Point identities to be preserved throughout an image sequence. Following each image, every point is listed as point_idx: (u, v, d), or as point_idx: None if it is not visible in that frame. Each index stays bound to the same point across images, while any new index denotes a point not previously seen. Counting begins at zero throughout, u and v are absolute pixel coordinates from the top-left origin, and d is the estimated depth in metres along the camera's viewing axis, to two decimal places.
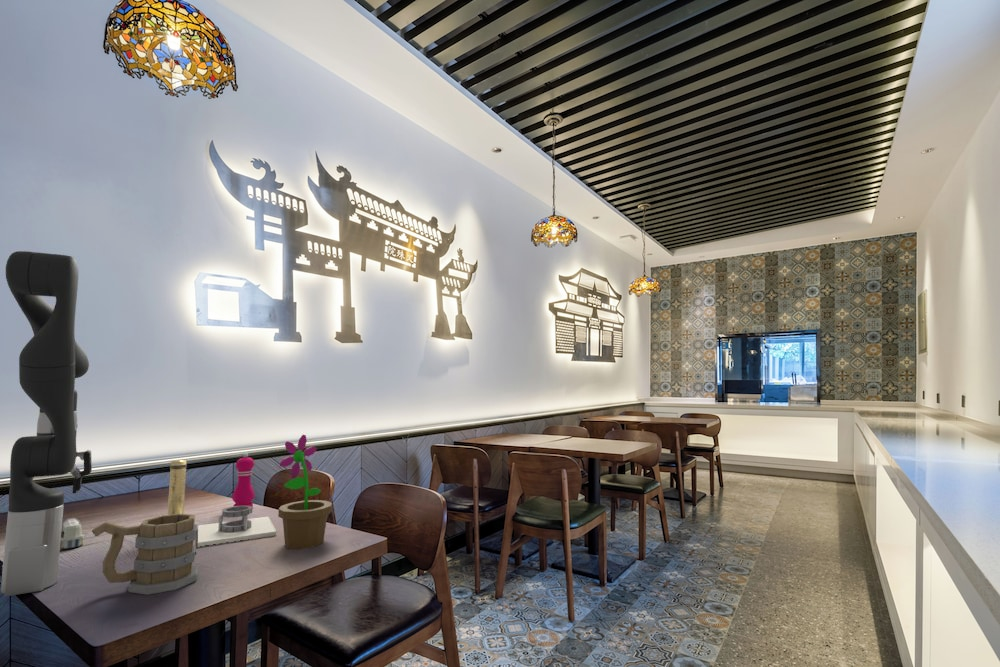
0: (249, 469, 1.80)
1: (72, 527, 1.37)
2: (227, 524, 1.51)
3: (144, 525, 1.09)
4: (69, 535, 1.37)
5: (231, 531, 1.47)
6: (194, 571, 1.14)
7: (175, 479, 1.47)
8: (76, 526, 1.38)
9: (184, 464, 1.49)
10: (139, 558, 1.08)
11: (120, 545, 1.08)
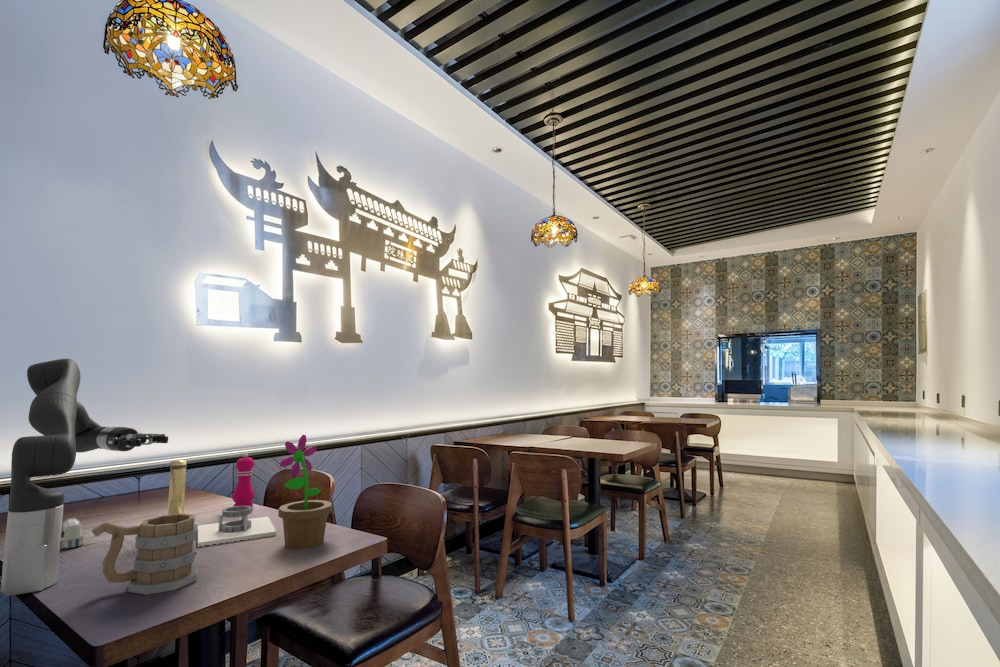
0: (249, 469, 1.80)
1: (72, 527, 1.38)
2: (227, 524, 1.51)
3: (144, 525, 1.09)
4: (69, 535, 1.37)
5: (231, 531, 1.47)
6: (194, 571, 1.14)
7: (175, 479, 1.47)
8: (76, 526, 1.38)
9: (184, 464, 1.49)
10: (139, 558, 1.08)
11: (120, 545, 1.08)
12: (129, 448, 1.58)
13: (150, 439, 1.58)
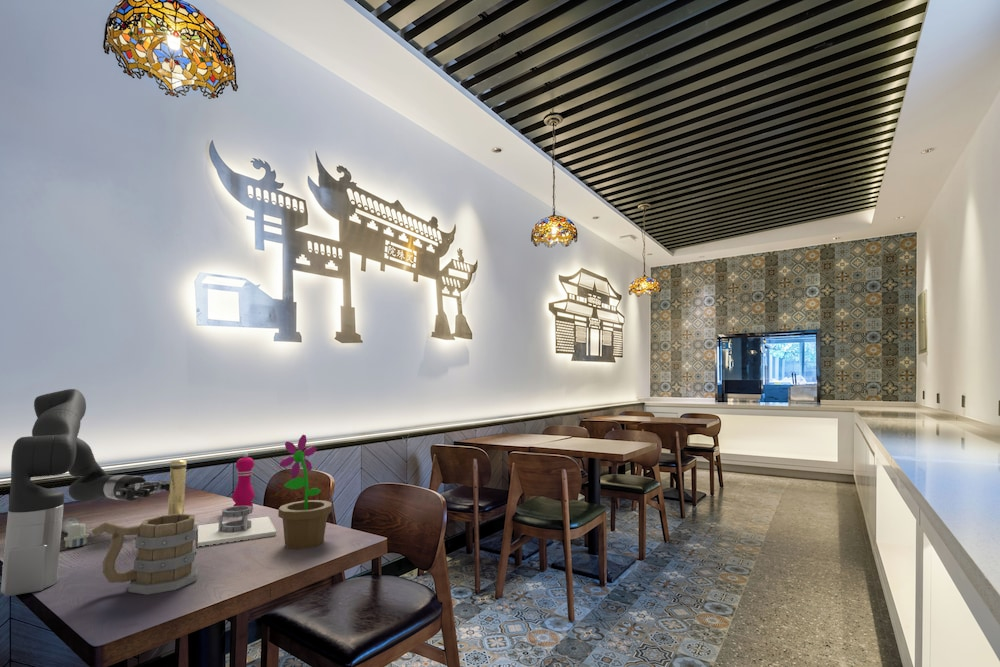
0: (249, 469, 1.80)
1: (76, 526, 1.38)
2: (227, 524, 1.51)
3: (144, 525, 1.09)
4: (74, 534, 1.37)
5: (231, 531, 1.47)
6: (194, 571, 1.14)
7: (175, 479, 1.47)
8: (80, 525, 1.39)
9: (184, 464, 1.49)
10: (139, 558, 1.08)
11: (120, 545, 1.08)
12: (137, 497, 1.54)
13: (158, 487, 1.55)
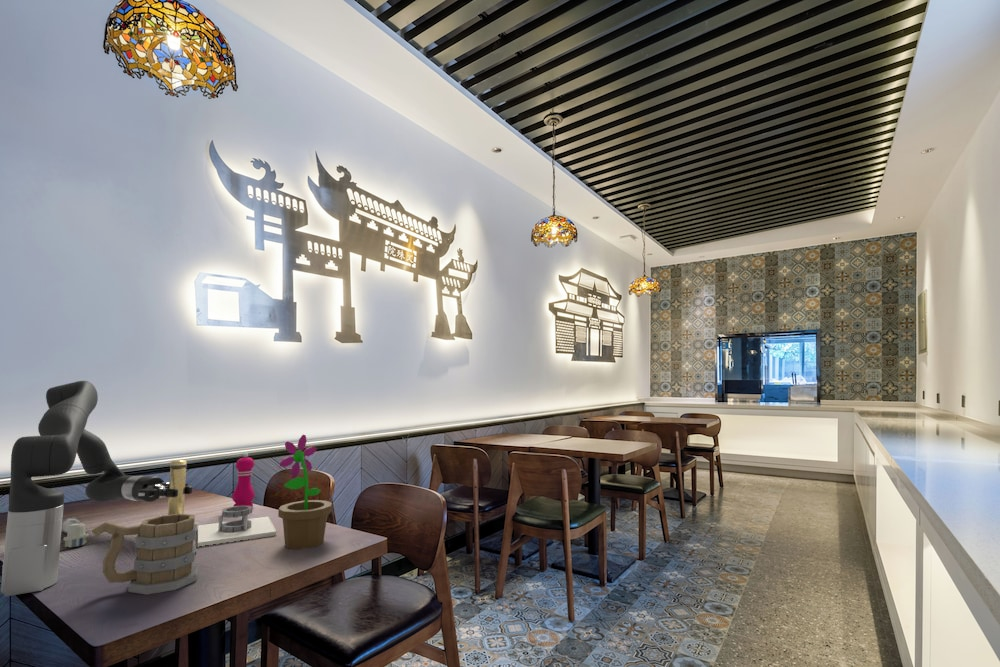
0: (249, 469, 1.80)
1: (76, 526, 1.38)
2: (227, 524, 1.51)
3: (144, 525, 1.09)
4: (73, 534, 1.37)
5: (231, 531, 1.47)
6: (194, 571, 1.14)
7: (176, 479, 1.47)
8: (80, 525, 1.39)
9: (184, 464, 1.49)
10: (139, 558, 1.08)
11: (120, 545, 1.08)
12: (155, 498, 1.52)
13: None
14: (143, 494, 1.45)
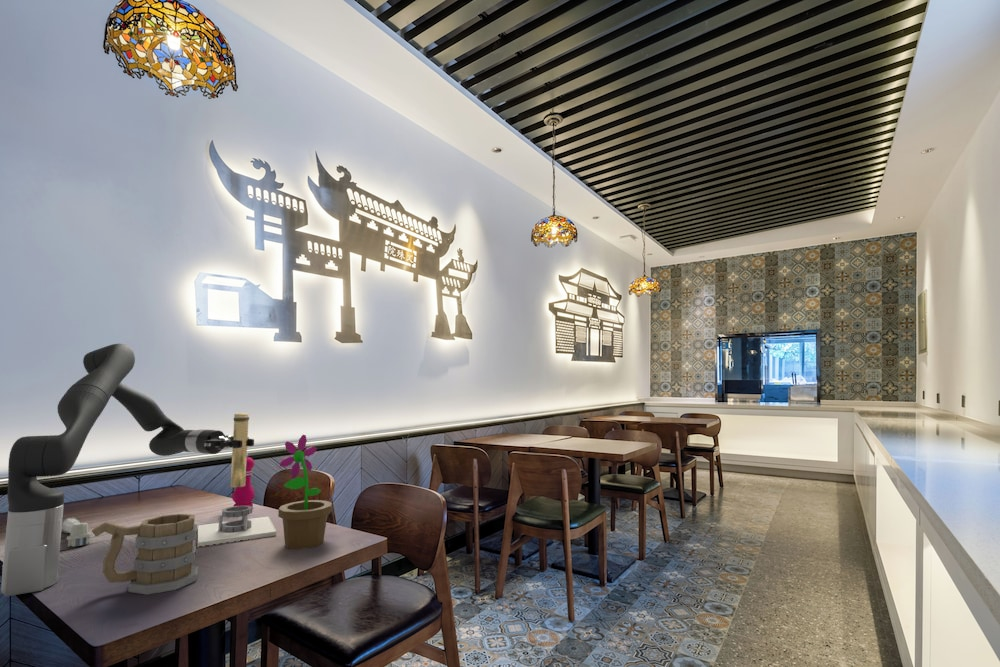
0: (249, 469, 1.80)
1: (79, 525, 1.39)
2: (227, 524, 1.51)
3: (144, 525, 1.09)
4: (77, 533, 1.38)
5: (231, 531, 1.47)
6: (194, 571, 1.14)
7: (239, 431, 1.52)
8: (83, 524, 1.40)
9: (247, 417, 1.54)
10: (139, 558, 1.08)
11: (120, 545, 1.08)
12: (217, 451, 1.57)
13: None
14: (209, 444, 1.49)
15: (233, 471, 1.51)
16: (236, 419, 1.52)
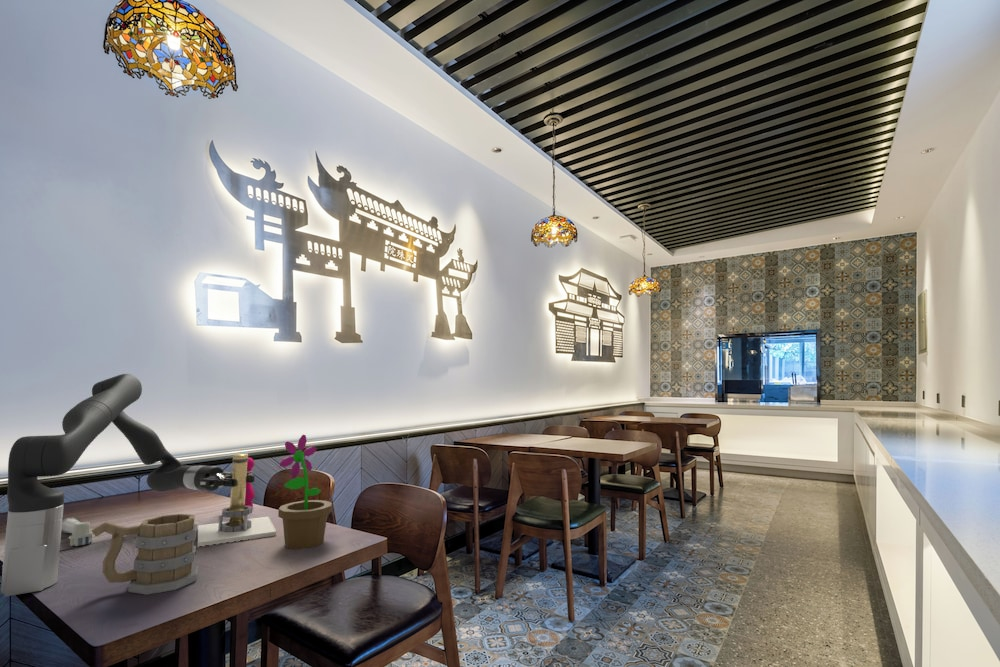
0: (249, 469, 1.80)
1: (82, 525, 1.40)
2: (227, 524, 1.51)
3: (144, 525, 1.09)
4: (79, 533, 1.39)
5: (231, 531, 1.47)
6: (194, 571, 1.14)
7: (238, 473, 1.50)
8: (85, 524, 1.40)
9: (246, 458, 1.52)
10: (139, 558, 1.08)
11: (120, 545, 1.08)
12: (216, 487, 1.55)
13: None
14: (204, 483, 1.48)
15: None
16: (235, 461, 1.51)
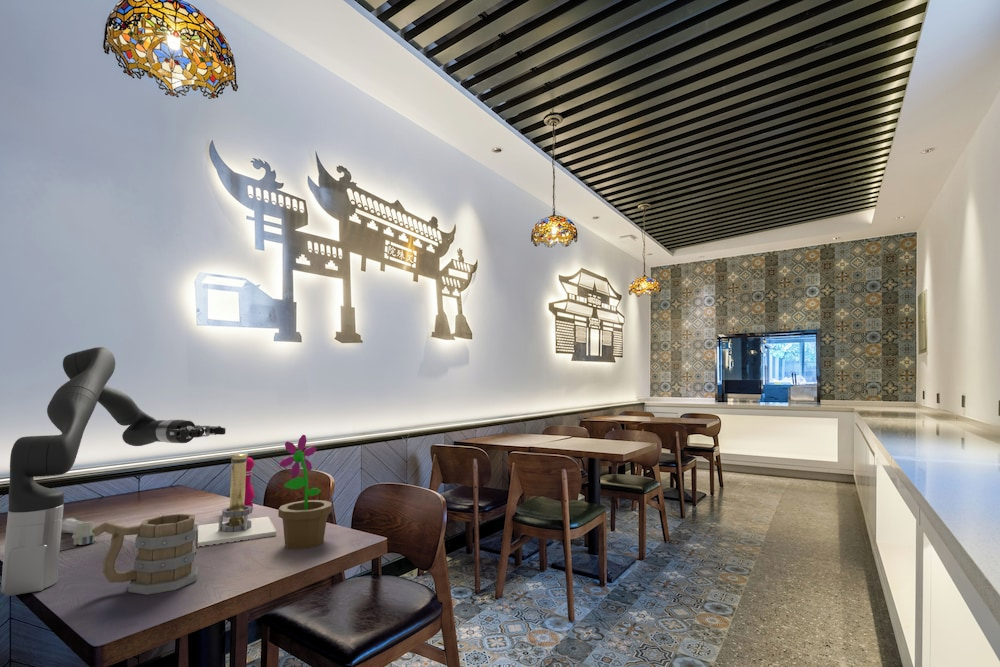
0: (249, 469, 1.80)
1: (86, 524, 1.40)
2: (227, 524, 1.51)
3: (144, 525, 1.09)
4: (83, 532, 1.39)
5: (231, 531, 1.47)
6: (194, 571, 1.14)
7: (237, 473, 1.50)
8: (89, 523, 1.41)
9: (245, 458, 1.52)
10: (139, 558, 1.08)
11: (120, 545, 1.08)
12: (187, 440, 1.61)
13: (208, 431, 1.62)
14: (172, 433, 1.53)
15: None
16: (234, 461, 1.51)
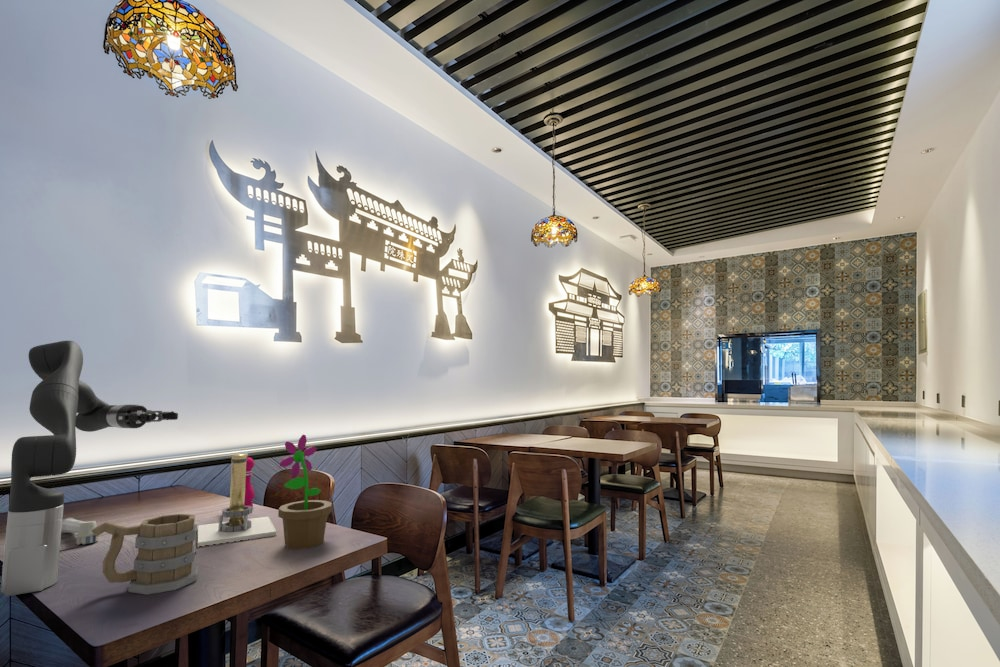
0: (249, 469, 1.80)
1: (89, 523, 1.41)
2: (227, 524, 1.51)
3: (144, 525, 1.09)
4: (87, 531, 1.40)
5: (231, 531, 1.47)
6: (194, 571, 1.14)
7: (237, 473, 1.50)
8: (92, 522, 1.42)
9: (245, 458, 1.52)
10: (139, 558, 1.08)
11: (120, 545, 1.08)
12: (139, 425, 1.58)
13: (160, 416, 1.59)
14: (121, 418, 1.50)
15: None
16: (234, 461, 1.51)
